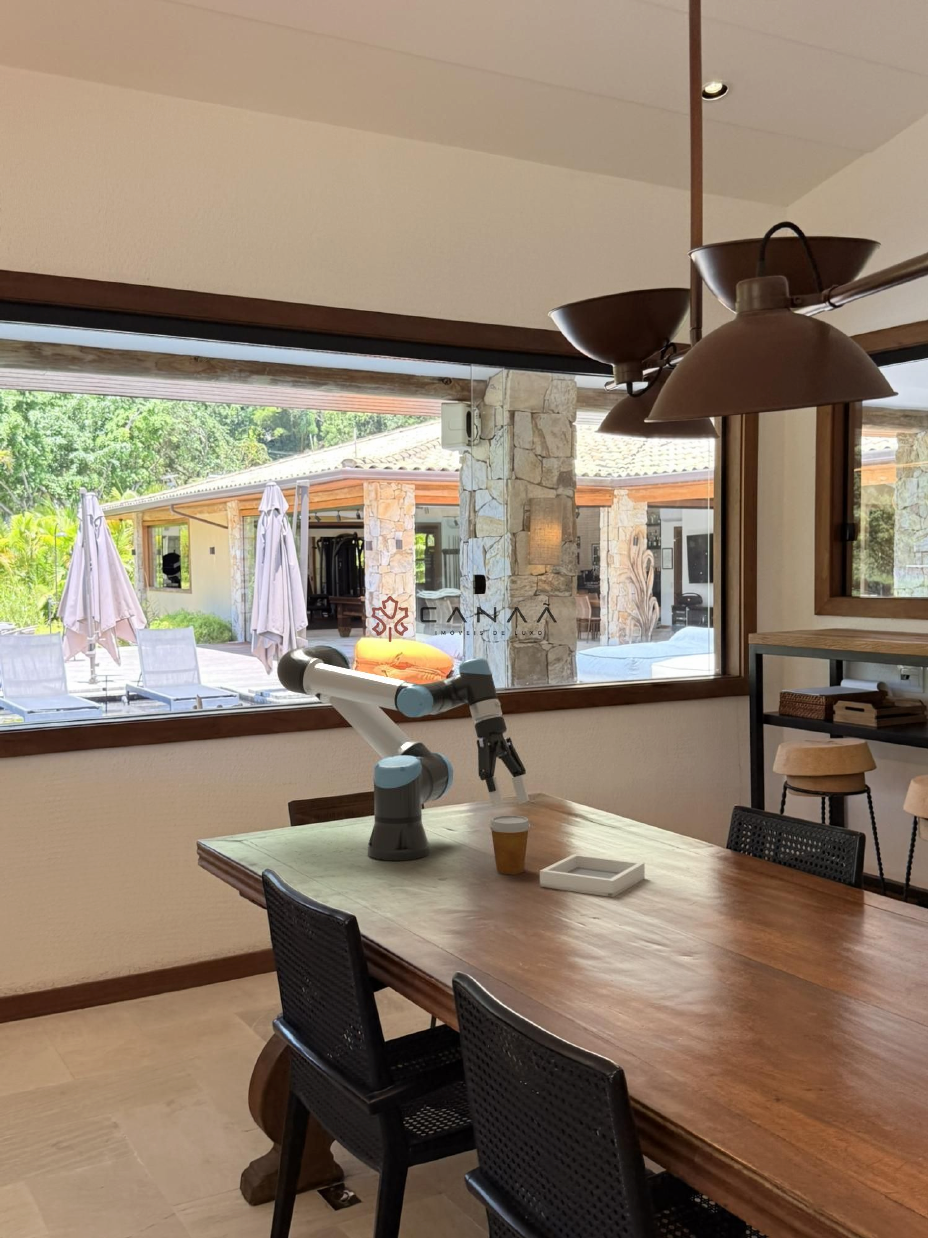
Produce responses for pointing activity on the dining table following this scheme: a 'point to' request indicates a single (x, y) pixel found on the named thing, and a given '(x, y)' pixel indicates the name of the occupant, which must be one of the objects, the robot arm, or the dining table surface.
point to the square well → (592, 875)
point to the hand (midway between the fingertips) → (511, 803)
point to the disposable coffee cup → (509, 843)
